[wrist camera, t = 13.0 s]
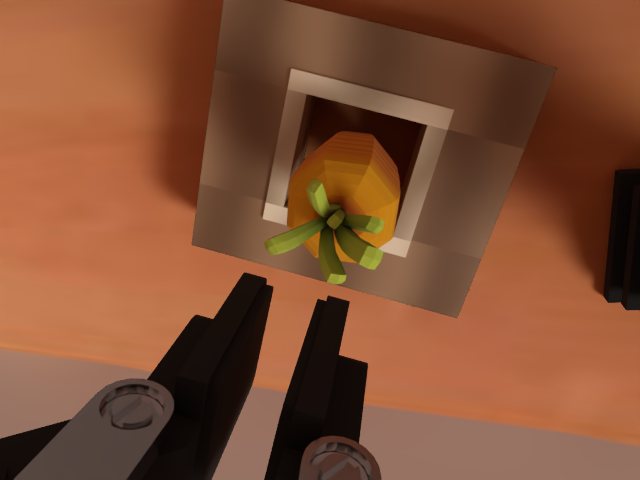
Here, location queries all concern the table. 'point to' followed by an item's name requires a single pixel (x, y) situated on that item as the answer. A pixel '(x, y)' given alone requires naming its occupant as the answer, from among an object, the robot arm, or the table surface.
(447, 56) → the seat block
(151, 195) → the table surface
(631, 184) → the chess piece
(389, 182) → the carrot
